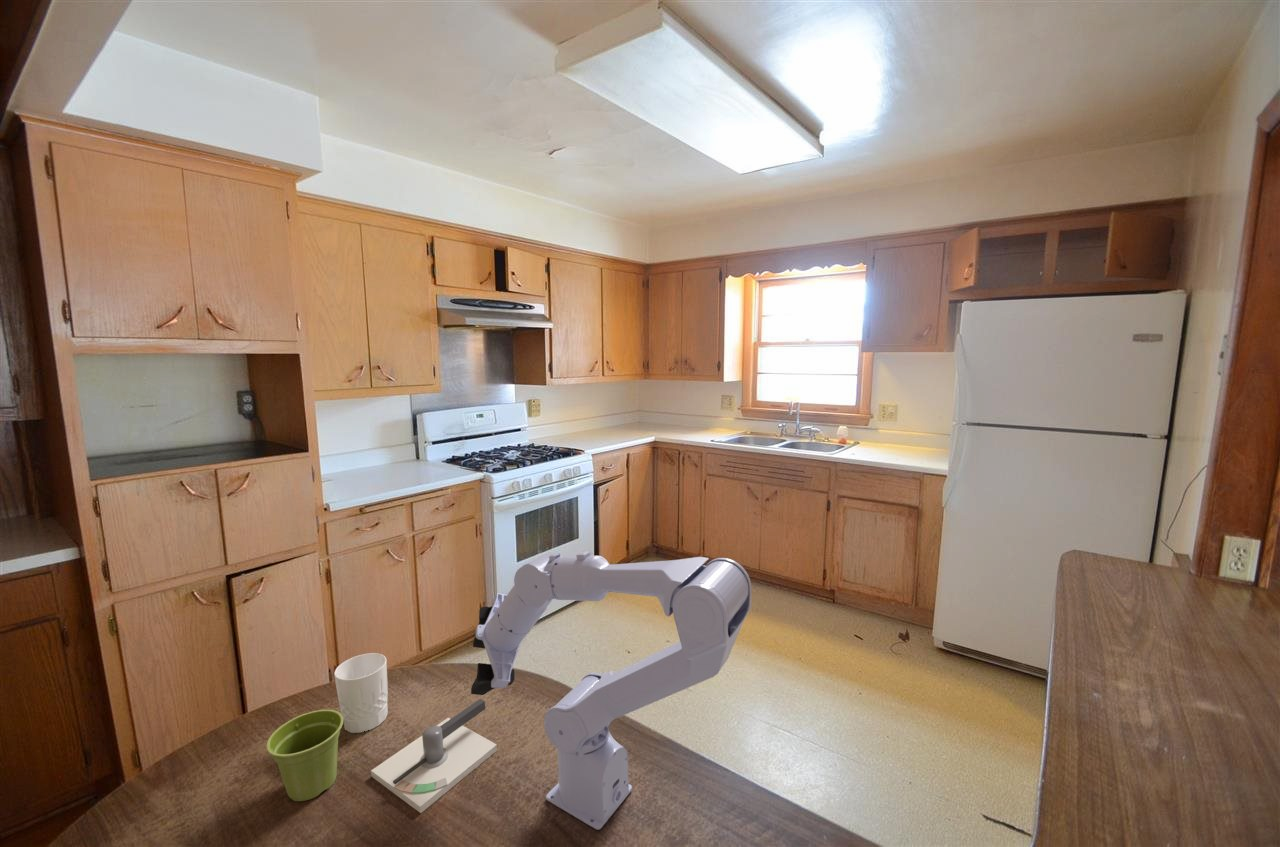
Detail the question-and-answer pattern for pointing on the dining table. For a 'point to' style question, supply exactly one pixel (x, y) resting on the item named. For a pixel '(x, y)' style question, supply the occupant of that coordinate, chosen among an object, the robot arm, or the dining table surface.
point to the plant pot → (307, 752)
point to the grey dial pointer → (443, 736)
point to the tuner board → (433, 767)
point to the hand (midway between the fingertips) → (478, 668)
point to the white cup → (362, 691)
